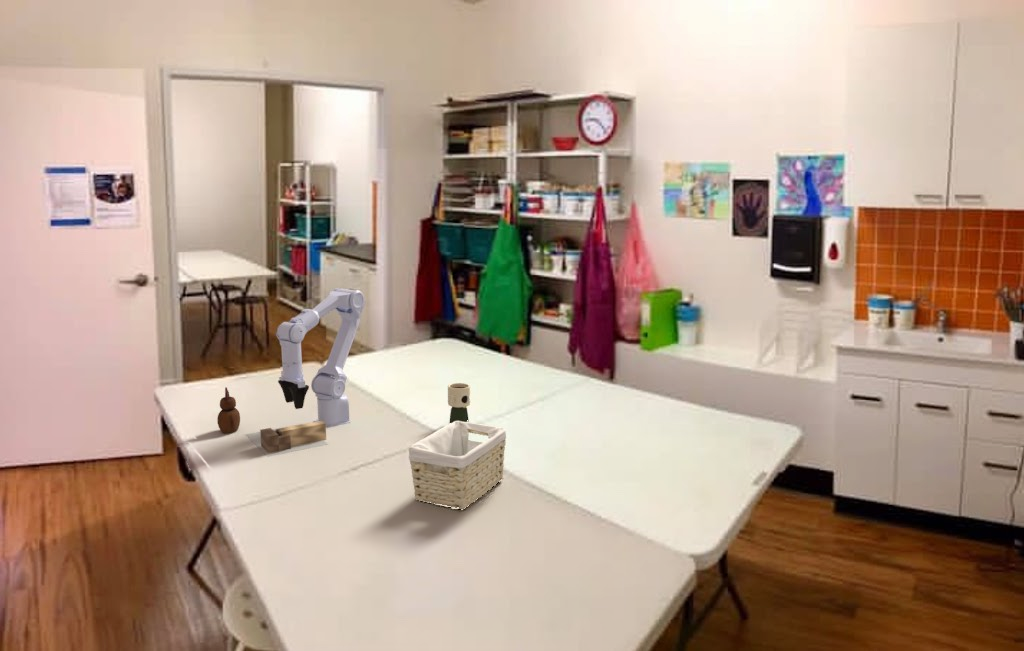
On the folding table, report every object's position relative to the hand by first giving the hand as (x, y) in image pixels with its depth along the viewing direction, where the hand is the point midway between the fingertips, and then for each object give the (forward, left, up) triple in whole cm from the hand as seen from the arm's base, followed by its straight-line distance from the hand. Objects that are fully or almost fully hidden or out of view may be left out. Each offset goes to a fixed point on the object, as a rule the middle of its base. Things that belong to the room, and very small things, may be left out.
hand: (294, 405), depth 241 cm
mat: (+4, +2, -10) cm, 11 cm away
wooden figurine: (+16, -15, -10) cm, 24 cm away
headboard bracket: (+8, +7, -9) cm, 15 cm away
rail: (+1, +7, -9) cm, 12 cm away
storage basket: (-20, +63, -10) cm, 67 cm away
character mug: (-47, +18, -10) cm, 52 cm away
